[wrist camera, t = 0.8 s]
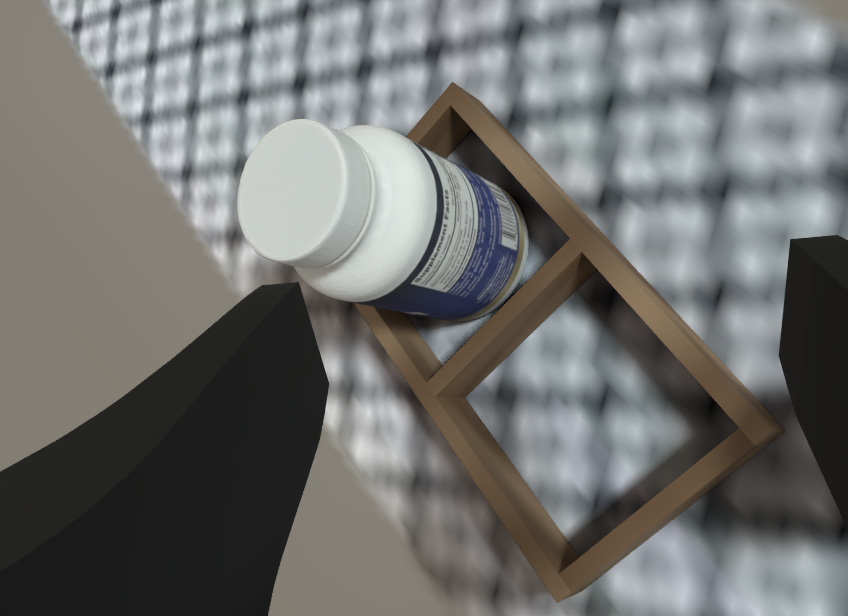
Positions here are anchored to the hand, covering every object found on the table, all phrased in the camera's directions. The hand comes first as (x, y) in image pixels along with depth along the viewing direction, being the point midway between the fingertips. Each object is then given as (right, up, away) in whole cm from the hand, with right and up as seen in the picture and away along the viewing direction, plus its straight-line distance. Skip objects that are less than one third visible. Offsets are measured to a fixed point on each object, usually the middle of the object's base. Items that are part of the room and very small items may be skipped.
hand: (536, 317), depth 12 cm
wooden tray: (+2, -1, +16) cm, 16 cm away
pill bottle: (0, +2, +18) cm, 18 cm away
